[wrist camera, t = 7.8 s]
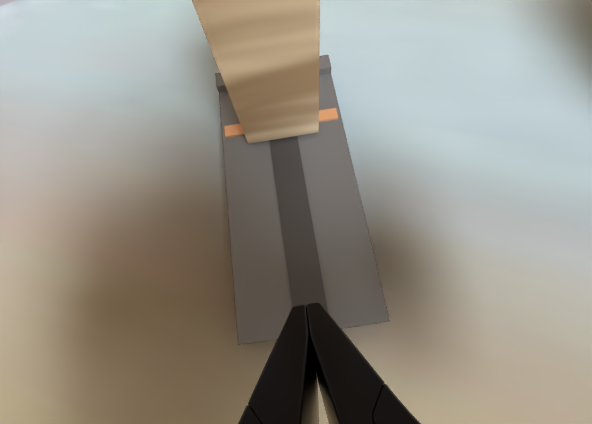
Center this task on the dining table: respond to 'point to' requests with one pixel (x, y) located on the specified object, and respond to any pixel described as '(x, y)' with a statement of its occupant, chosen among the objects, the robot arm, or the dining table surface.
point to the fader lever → (267, 62)
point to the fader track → (297, 224)
